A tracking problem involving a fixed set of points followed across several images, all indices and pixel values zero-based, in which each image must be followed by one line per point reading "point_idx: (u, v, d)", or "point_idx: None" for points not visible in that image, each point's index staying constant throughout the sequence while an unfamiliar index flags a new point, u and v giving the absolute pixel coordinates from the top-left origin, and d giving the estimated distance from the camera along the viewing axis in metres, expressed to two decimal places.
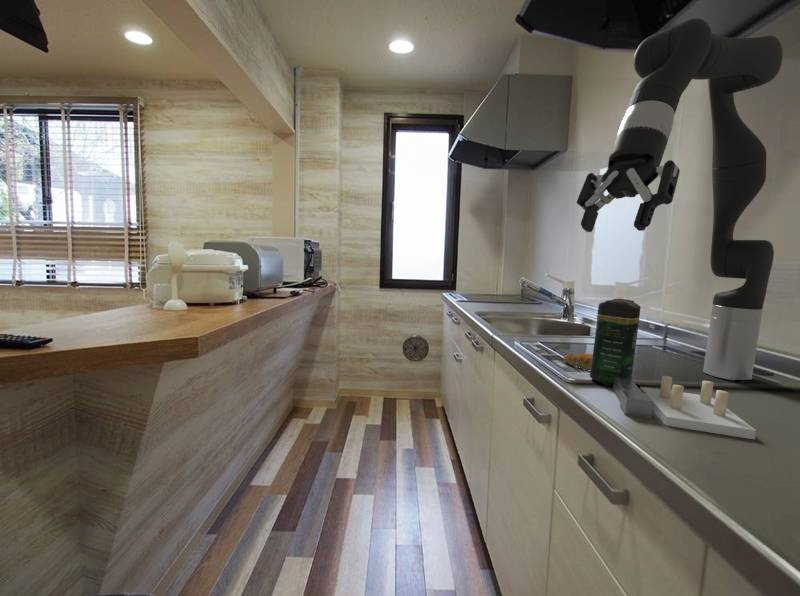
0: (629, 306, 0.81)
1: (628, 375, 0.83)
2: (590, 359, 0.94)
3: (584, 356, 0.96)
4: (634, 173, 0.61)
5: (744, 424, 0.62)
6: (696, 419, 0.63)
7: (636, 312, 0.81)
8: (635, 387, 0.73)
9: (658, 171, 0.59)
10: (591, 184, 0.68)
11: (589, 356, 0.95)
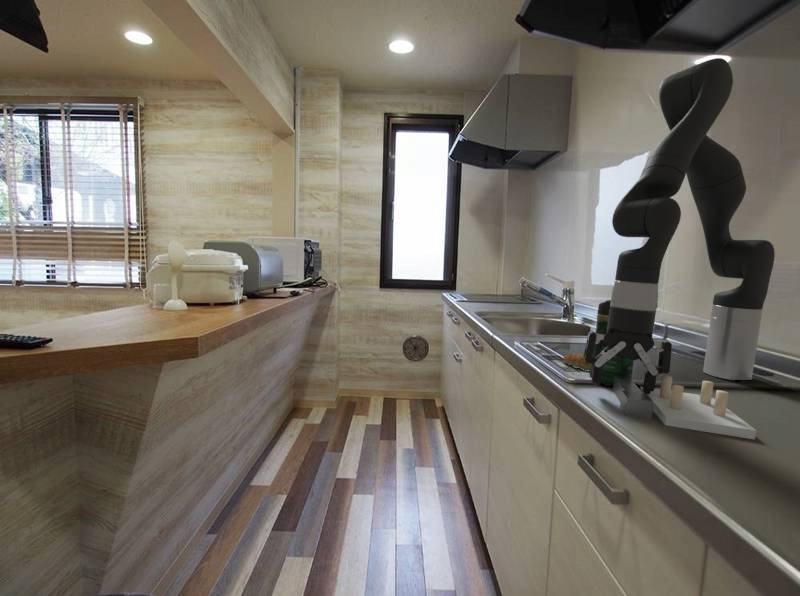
0: None
1: (628, 375, 0.83)
2: None
3: None
4: (642, 349, 0.72)
5: (744, 424, 0.62)
6: (696, 419, 0.63)
7: None
8: (635, 387, 0.73)
9: (656, 345, 0.73)
10: (594, 343, 0.76)
11: None
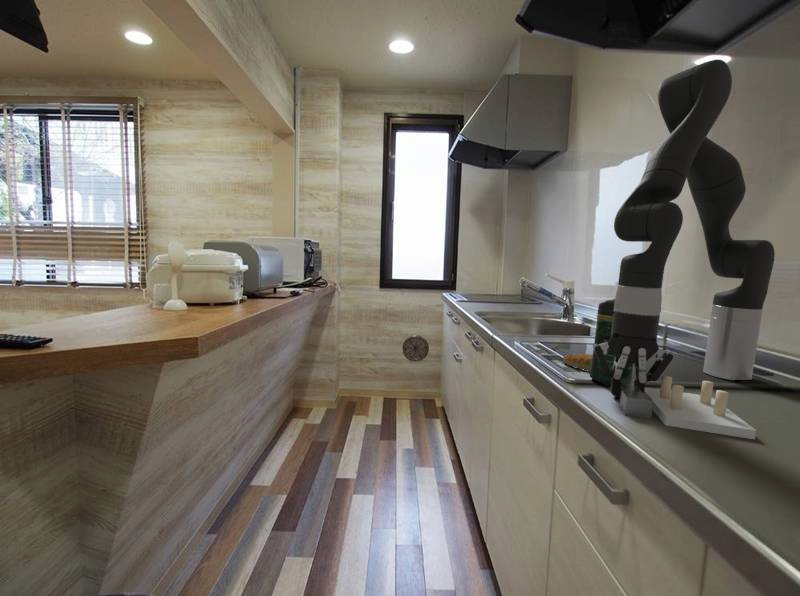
0: None
1: (628, 375, 0.83)
2: (590, 360, 0.94)
3: (584, 357, 0.95)
4: (644, 355, 0.72)
5: (744, 424, 0.62)
6: (696, 419, 0.63)
7: None
8: (635, 387, 0.73)
9: (658, 353, 0.73)
10: (603, 354, 0.75)
11: (589, 357, 0.95)
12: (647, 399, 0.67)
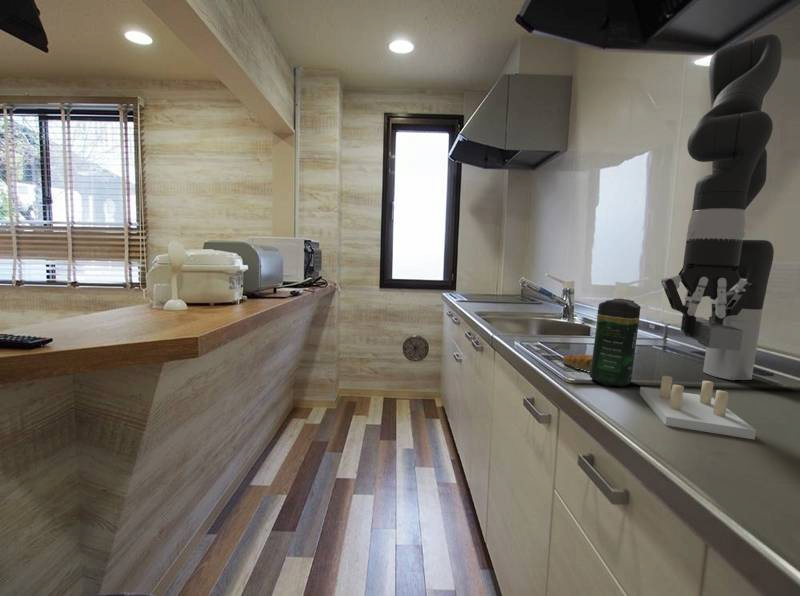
0: (629, 306, 0.81)
1: (628, 375, 0.83)
2: (591, 360, 0.93)
3: (584, 357, 0.95)
4: (724, 286, 0.65)
5: (744, 424, 0.62)
6: (696, 419, 0.63)
7: (636, 312, 0.81)
8: (713, 322, 0.66)
9: (739, 284, 0.65)
10: None
11: (589, 357, 0.94)
12: (735, 329, 0.60)
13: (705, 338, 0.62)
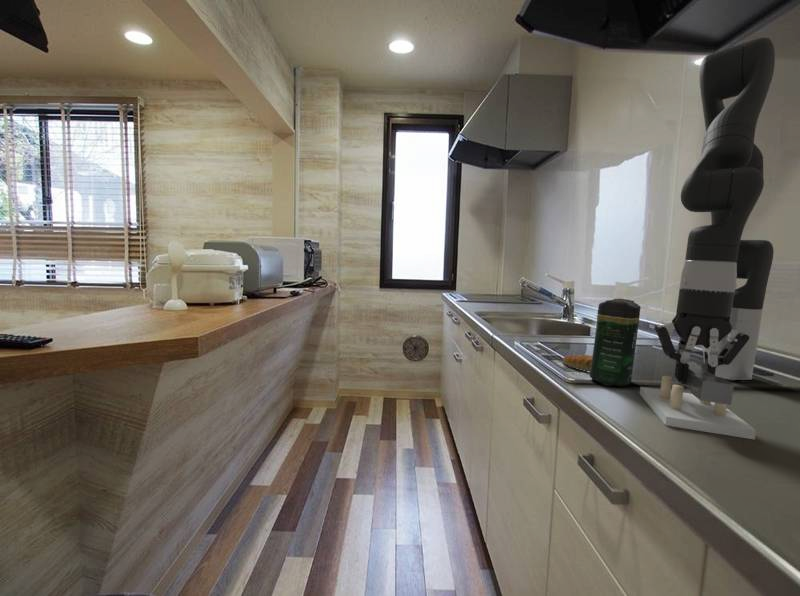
0: (629, 306, 0.81)
1: (628, 375, 0.83)
2: (591, 361, 0.93)
3: (584, 358, 0.94)
4: (716, 336, 0.66)
5: (744, 424, 0.62)
6: (696, 419, 0.63)
7: (636, 312, 0.81)
8: (705, 371, 0.67)
9: (731, 334, 0.66)
10: (669, 336, 0.69)
11: (589, 358, 0.94)
12: (726, 383, 0.60)
13: (697, 390, 0.63)
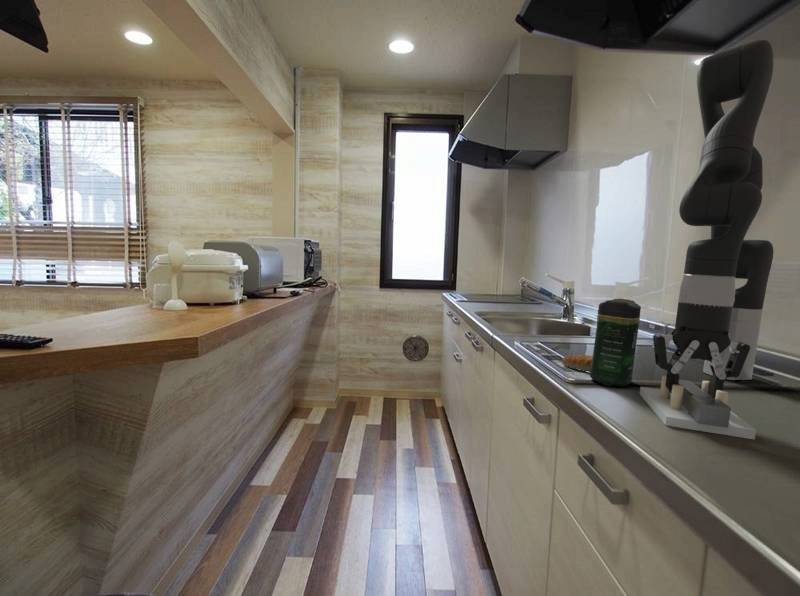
0: (629, 306, 0.81)
1: (628, 375, 0.83)
2: (591, 361, 0.93)
3: (584, 358, 0.94)
4: (716, 349, 0.66)
5: (744, 424, 0.62)
6: None
7: (636, 312, 0.81)
8: (703, 392, 0.67)
9: (731, 346, 0.67)
10: None
11: (589, 358, 0.94)
12: (723, 406, 0.61)
13: (694, 412, 0.63)
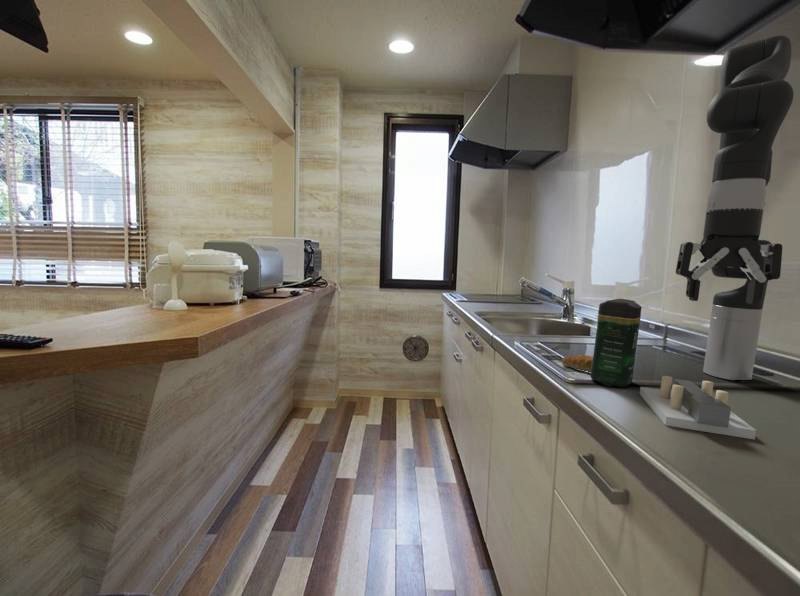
0: (630, 306, 0.80)
1: (629, 375, 0.82)
2: (591, 361, 0.92)
3: (584, 358, 0.94)
4: (748, 254, 0.65)
5: (744, 424, 0.62)
6: None
7: (637, 312, 0.81)
8: (703, 392, 0.67)
9: (763, 250, 0.66)
10: None
11: (589, 358, 0.93)
12: (723, 406, 0.61)
13: (694, 412, 0.63)
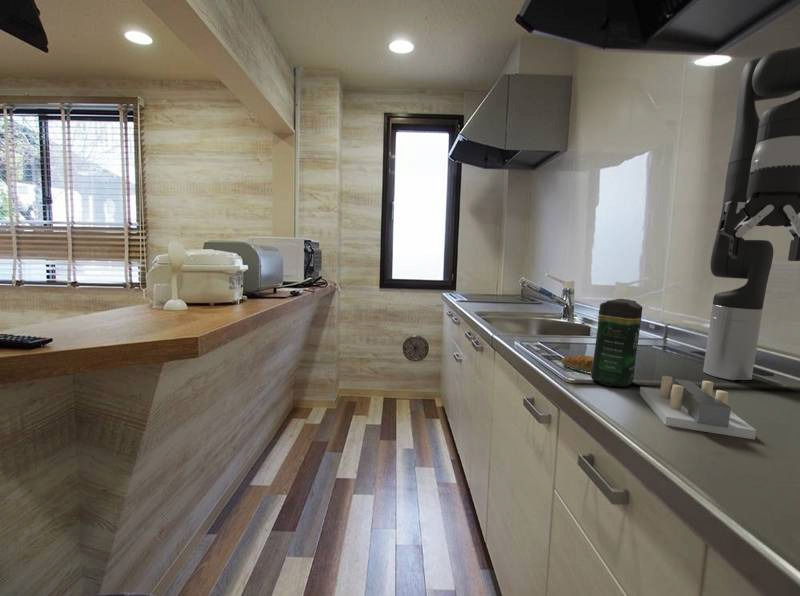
0: (630, 306, 0.80)
1: (629, 376, 0.82)
2: (591, 361, 0.92)
3: (584, 358, 0.94)
4: (792, 211, 0.67)
5: (744, 424, 0.62)
6: None
7: (637, 312, 0.81)
8: (703, 392, 0.67)
9: None
10: None
11: (589, 358, 0.93)
12: (723, 406, 0.61)
13: (694, 412, 0.63)
